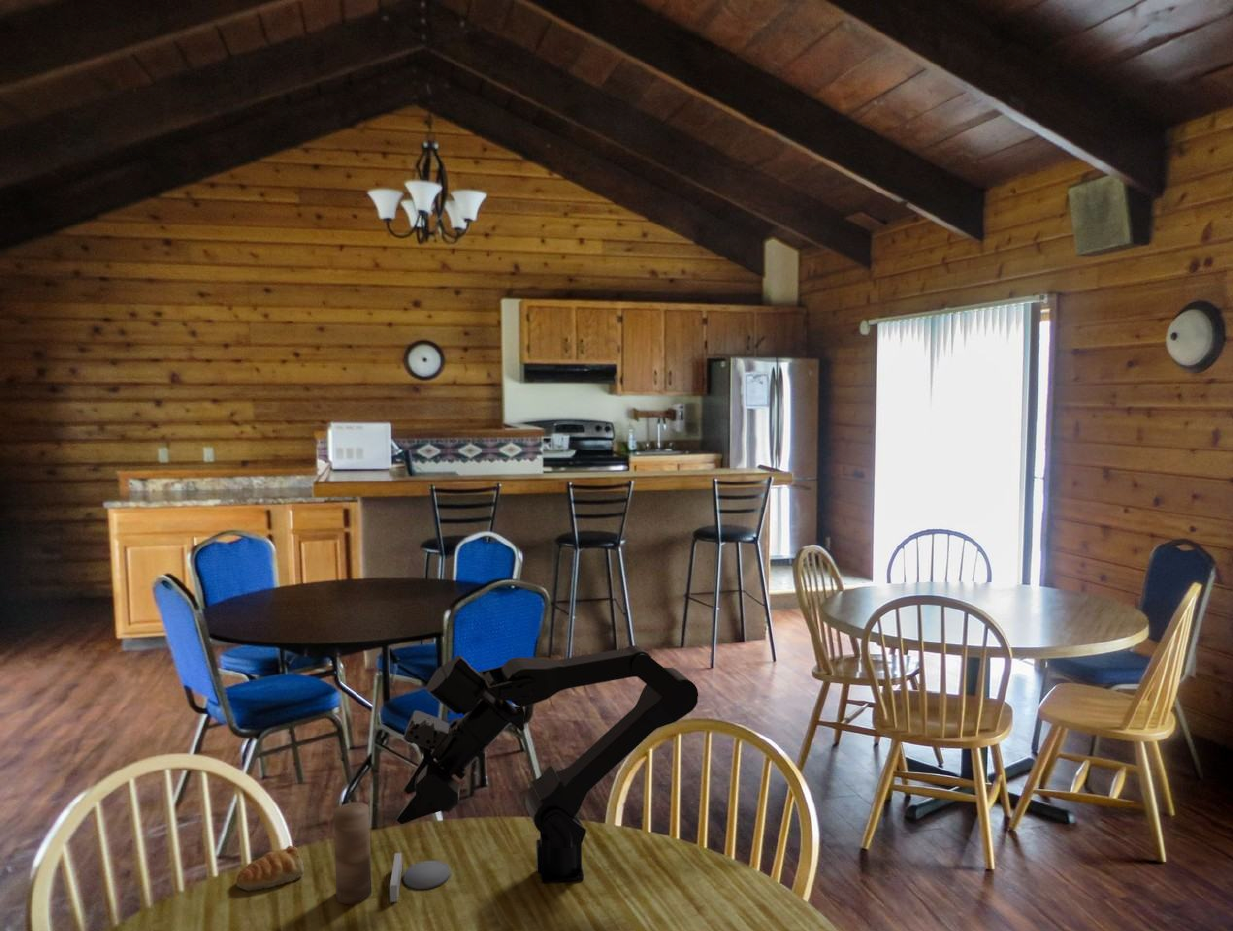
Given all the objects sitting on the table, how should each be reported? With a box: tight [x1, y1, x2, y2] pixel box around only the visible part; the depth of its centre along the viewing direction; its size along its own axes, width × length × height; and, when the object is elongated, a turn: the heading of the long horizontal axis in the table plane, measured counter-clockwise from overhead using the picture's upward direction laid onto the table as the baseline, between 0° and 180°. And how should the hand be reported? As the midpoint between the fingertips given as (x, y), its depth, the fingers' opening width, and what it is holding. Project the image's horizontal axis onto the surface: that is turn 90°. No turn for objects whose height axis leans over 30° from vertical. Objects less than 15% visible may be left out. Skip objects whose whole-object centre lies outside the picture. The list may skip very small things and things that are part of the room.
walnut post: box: [333, 801, 372, 905], centre depth 130 cm, size 5×5×13 cm
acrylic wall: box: [389, 852, 403, 903], centre depth 133 cm, size 1×9×2 cm, turn 9°
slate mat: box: [403, 860, 451, 890], centre depth 136 cm, size 7×7×1 cm
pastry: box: [235, 845, 305, 892], centre depth 135 cm, size 9×7×4 cm
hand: (402, 806), depth 131 cm, fingers open, 9 cm apart
